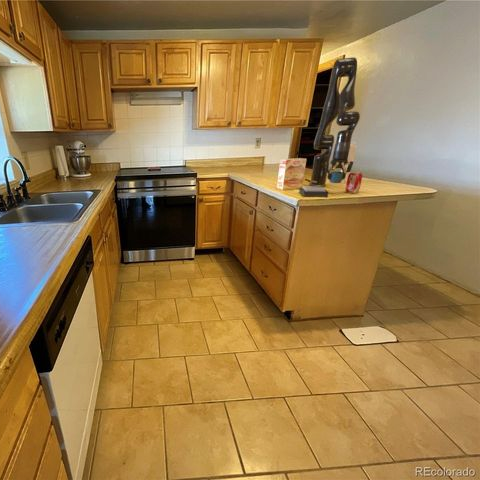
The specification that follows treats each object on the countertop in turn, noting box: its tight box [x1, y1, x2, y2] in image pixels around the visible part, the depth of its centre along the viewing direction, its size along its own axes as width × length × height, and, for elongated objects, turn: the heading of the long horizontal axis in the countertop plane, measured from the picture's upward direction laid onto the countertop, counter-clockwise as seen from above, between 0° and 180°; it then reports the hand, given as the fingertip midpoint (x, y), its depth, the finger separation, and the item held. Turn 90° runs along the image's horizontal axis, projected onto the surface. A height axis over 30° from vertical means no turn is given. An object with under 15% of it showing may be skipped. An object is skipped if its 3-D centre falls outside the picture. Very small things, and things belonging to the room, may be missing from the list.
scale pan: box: [302, 185, 327, 191], centre depth 159 cm, size 10×10×2 cm
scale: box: [299, 187, 330, 198], centre depth 160 cm, size 14×13×3 cm
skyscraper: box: [340, 141, 358, 184], centre depth 188 cm, size 8×8×28 cm
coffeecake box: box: [276, 157, 307, 191], centre depth 177 cm, size 15×7×20 cm, turn 101°
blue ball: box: [328, 170, 344, 184], centre depth 157 cm, size 6×6×6 cm
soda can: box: [344, 171, 363, 194], centre depth 159 cm, size 7×7×12 cm
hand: (335, 179), depth 158 cm, fingers closed on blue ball, 6 cm apart
